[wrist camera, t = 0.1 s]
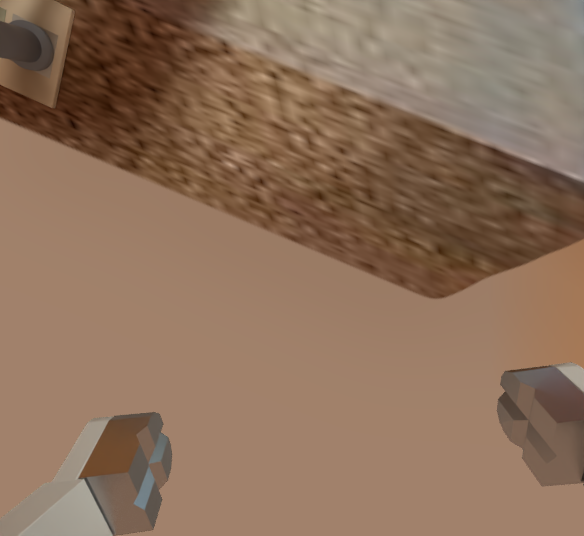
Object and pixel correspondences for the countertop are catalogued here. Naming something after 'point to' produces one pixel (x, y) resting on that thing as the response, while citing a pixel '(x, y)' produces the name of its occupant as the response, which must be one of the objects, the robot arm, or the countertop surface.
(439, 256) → the countertop surface
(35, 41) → the pawn
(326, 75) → the countertop surface
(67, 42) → the board
